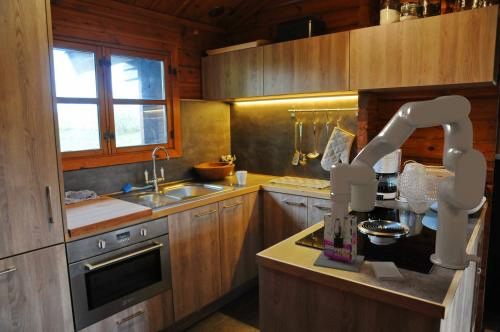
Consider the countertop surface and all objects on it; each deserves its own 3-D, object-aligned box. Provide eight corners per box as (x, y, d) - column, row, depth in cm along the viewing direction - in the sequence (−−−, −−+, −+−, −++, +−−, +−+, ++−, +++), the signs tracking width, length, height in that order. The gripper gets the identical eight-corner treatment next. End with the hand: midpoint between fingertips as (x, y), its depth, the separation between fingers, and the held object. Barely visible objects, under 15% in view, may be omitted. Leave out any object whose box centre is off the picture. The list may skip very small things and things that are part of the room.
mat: (364, 257, 139) (364, 256, 139) (358, 272, 127) (358, 270, 127) (322, 251, 146) (322, 250, 146) (313, 265, 133) (313, 263, 133)
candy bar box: (357, 258, 134) (357, 215, 132) (351, 263, 131) (352, 218, 128) (329, 252, 141) (329, 210, 139) (323, 256, 138) (323, 214, 135)
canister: (365, 204, 217) (366, 169, 214) (385, 212, 200) (386, 174, 197) (338, 207, 211) (339, 171, 208) (357, 215, 194) (358, 176, 191)
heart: (449, 220, 183) (451, 176, 179) (421, 222, 180) (423, 178, 177) (415, 206, 210) (417, 168, 207) (390, 207, 208) (391, 169, 204)
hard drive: (404, 277, 120) (393, 261, 132) (378, 276, 121) (370, 261, 133) (403, 282, 120) (393, 266, 132) (378, 281, 121) (370, 265, 133)
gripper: (335, 191, 142) (334, 236, 145) (324, 201, 126) (324, 251, 129) (355, 192, 139) (354, 238, 141) (346, 203, 123) (346, 254, 126)
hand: (340, 244), depth 135 cm, fingers closed on candy bar box, 5 cm apart
